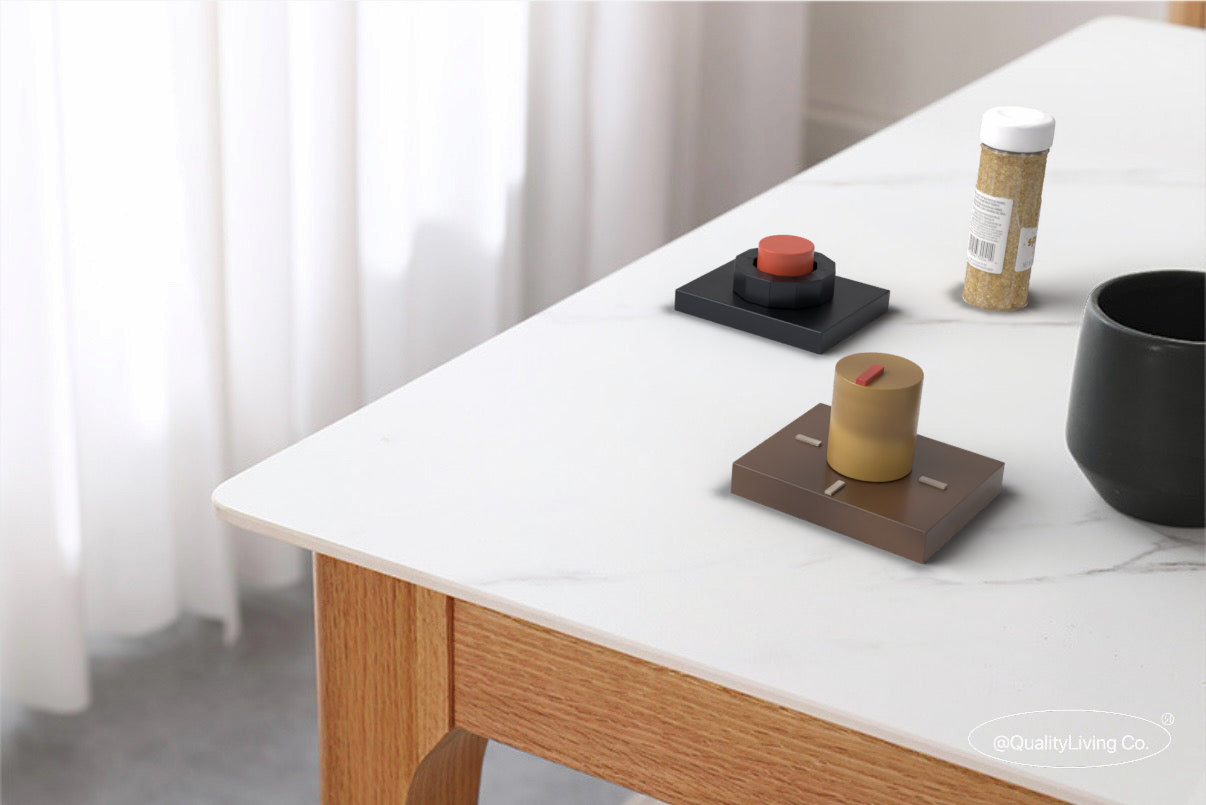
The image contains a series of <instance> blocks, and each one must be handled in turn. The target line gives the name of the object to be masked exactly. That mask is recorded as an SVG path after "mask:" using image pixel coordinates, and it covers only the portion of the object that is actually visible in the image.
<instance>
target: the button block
mask: <svg viewBox="0 0 1206 805" xmlns="http://www.w3.org/2000/svg"><path fill="white" fill-rule="evenodd" d="M757 260H758V247H753V248H749V249H747V250H745V251H743V252H741V253H739V254H737V255H735V258H733V259H732V260H730V261H728V262H726V263H724V264H722V265H720V266H717V267H716V268H714V269H712V270H710V271H708V272H706V273H704V274H703V275H700V276H699V277H696V278H695V279H693V280H691V281H689V282H686V283H685V284H683V285H681V286H678V287H677V288H675V290H674V311H675V312H679V313H682V314H685V315H688V316H692V317H695V318H699V319H702V320H704V321H705V320H706V321H708V322H712V323H715V324H718V325H721V326H724V327H728V328H731V329H735V330H737V331H741V332H744V333H746V334H750V335H755V336H757V337H761V338H764V339H767V340H771V341H775V342H777V343H780V344H784V345H787V346H790V347H793V348H796V349H800V350H803V351H807V352H810V353H812V354H813V353H814V354H816V355H823V354H824V353H826V352H827V351H829V350H830V349H831V348H833V347H835V346H837V345H838V344H839V343H842V342H843V341H844V340H846V339H847V338H849V337H851V336H852V335H854V334H855V333H857V332H858V331H859V330H861V329H862V328H864V327H866V326H867V325H869V324H871V323H872V322H873V321H875V320H877V319H879V318H880V317H882V316H883V315H884V314H886V313H888V312H889V306H890V298H891V290H890V289H886V288H883V287H880V286H877V285H872V284H868V283H865V282H861V281H858V280H853V279H850V278H847V277H844V276H840V275H836V274H837V266H836V264H837V263H836V261H834V260H832V259H831V258H829V257H828V256H827V255H825V254H824V253H822V252H819V251H815V250H814V262H813V271H812V272H811V273H810V274H807V275H800V276H778V275H774V274H770V273H766V272H763V271H760V270H759V269H757Z"/></svg>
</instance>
